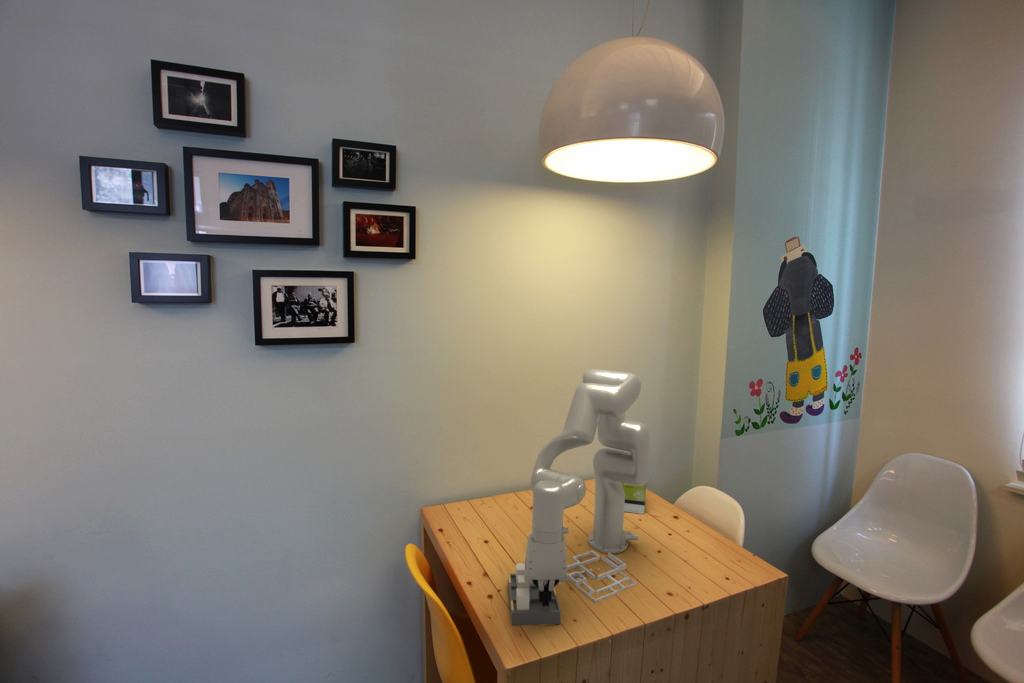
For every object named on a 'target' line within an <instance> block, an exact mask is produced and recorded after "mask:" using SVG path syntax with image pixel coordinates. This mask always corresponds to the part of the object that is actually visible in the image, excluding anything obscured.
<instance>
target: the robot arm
mask: <svg viewBox="0 0 1024 683" xmlns="http://www.w3.org/2000/svg"><path fill="white" fill-rule="evenodd" d="M641 390H642V382H641V379H640V377H639V376H638V375H637V374H635V373H632V372H626V371H619V370H618V371H617V370H615V371H614V370H610V369H600V368H599V369H597V368H591V369H587V370H586V371H584V373H583V376H582V383H581V384H579V385H578V386H577V388H576V389H575V391H574V394H573V397H572V400H571V403H570V406H569V410H568V413H567V416H566V419H565V423H564V427H563V429H562V431H561V432H560V433H559V434H558V435H557V434H556V435H555V436H554V437H553V438H552V439H551V440H549V441H548V442H547V443H546V445H545V446H543V448H542V449H541V450H540V452H539V454H538V456H537V459H536V461H535V464H534V467H533V470H532V474H531V477H530V488H531V491H532V519H531V533H529V534H528V538H527V543H526V548H525V560H524V563H525V569H526V572H525V575H524V580H525V582H529V583H533V584H534V585H535V586H536V587H537V588H538V589H539V601H541V602H542V607H545V604H546V606H547V607H549V601H551V598H552V591H553V589H554V587H555V588H556V586H558V584H559V583H565V582H567V581H568V579H567V573H568V571H567V566H568V556H567V555H568V553H567V544H566V538H565V535H566V534H569V527H565V526H564V510H566V509H569V508H573V507H575V506H577V505H578V504H580V503H581V502H582V501H583V500H584V498H585V496H586V491H587V486H586V482H585V481H584V480H583V479H582V478H581V477H579V476H578V475H574V474H570V473H566V472H563V471H560V470H559V471H558V470H555V469H551V468H552V465H553V462H554V461H555V459H556V458H558V457H559V456H560V455H561V454H562V453H564V452H567V451H570V450H572V449H577V448H581V447H584V446H587V445H588V446H589V445H590V444H592V443H593V442H594V439H595V435H596V432H597V438H598V439H597V440H598V442H599V443H600V445H601V446H604V447H606V448H600V449H598V450H596V452H595V453H594V456H593V459H592V460H593V461H592V463H593V473H594V484H595V485H594V504H593V505H594V508H593V529H592V530H593V532H591V534H589V536H588V537H587V542H588V545H589V546H590V547H591V548H592V549H594V550H596V551H598V552H601V553H603V554H608V552H609V553H611V554H612V555H614V554H619V553H622V552H624V551H626V550H627V548H628V542H629V541H638V540H639V538H638V534H637V533H632V531H631V530H626V531H625V530H624V521H625V520H624V519H625V515H624V514H625V511H624V502H625V492H624V489H623V486H622V484H621V482H623V483H627V484H631V485H636V486H642V485H644V484H645V483H646V484H647V482H648V481H649V475H650V445H651V444H650V441H651V440H650V431H649V429H648V427H647V425H646V424H644V423H643V422H640V421H636V420H635V421H634V420H629V419H627V418H626V413H627V411H628V410H629V409H630V408H631V406H633V404H634V403H636V401H637V399H638V398H639V396H640V394H641ZM543 580H547V583H546V585H545V586H544V583H543Z"/></svg>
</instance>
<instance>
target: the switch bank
mask: <svg viewBox="0 0 1024 683" xmlns="http://www.w3.org/2000/svg"><path fill="white" fill-rule="evenodd" d="M543 583H544V586H545V585H546V583H547V580H543ZM507 589H508V590H507V591H508V592H507V593H508V601H509V602H508V603H509V611H510V612H509V613H510V622H511V623H510V624H511V626H542V625H541V624H558V625H561V615H562V611H561V607H560V603H559V599H558V595H557V590H556V586H555V587H554V589H553V591H552V598H551V601H549V607H547V606H546V604H545V607H542V602H541V601H539V589H538V588H537V587H536V586H535V585H534V584H533V583H530V597H529V610H517V608H516V589H517V584H516V572H515V573H507ZM538 624H540V625H538Z"/></svg>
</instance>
